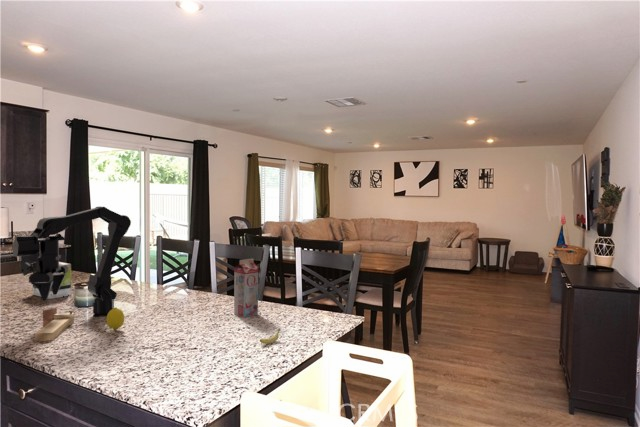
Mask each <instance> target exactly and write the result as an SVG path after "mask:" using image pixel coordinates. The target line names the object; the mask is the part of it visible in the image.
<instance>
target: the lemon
mask: <svg viewBox="0 0 640 427" xmlns="http://www.w3.org/2000/svg"><path fill="white" fill-rule="evenodd" d="M124 322H125V314H124V311H122V310H121V309H120V308H117V307H114V309H112V310H110V311H109V313H108V315H107V316H106V324H107V327H108V328H109V329H112V330H113V331H117V330H119V329H120V328H122V326H123V325H124Z"/></svg>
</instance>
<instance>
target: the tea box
mask: <svg viewBox="0 0 640 427" xmlns="http://www.w3.org/2000/svg"><path fill="white" fill-rule="evenodd" d="M59 265H66V266H67V267H68V272H67V273H64V272H62V274H67V275H66V276H65V278H64V280H63V282H62V284H61V286H60V288H59V290H58V293H57V294H55V295H54V294H53V291H52V287H51V290H50V293H49V296H48V298H47V300H52V299H58V298H63V296H64V297H68V295H69V296H72V264H71V263H67V262H62V261H59ZM33 273H36V271H35V272H32V274H33ZM32 295H33V296H38V297H40V298H42V297H41V295H40V292H39V290H38V288H37V286H35V285H34V284H32Z"/></svg>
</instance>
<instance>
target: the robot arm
mask: <svg viewBox="0 0 640 427" xmlns="http://www.w3.org/2000/svg"><path fill="white" fill-rule="evenodd" d="M96 219H101V220H102V221H103V222H106V223H107V232H108V233H107V234H108V237H107V240H106V243H105V246H104V250H103V252H102V256H101V258H100V263H99V265H98V267H97V268H98V269H97V271H96V272H95V274H90V275H89V278H88V281H87V283H86V286H87V290H88V293H90V294H91V295H92V297H93V298H94V302H93V303H92V314H93V316H92V317H100V316H101V317H105V316H106V317H107V315H108V313H109V311H110V310H112V309H114V308H115V300H116V299H117V296H118V293H117V292H116V291H114V289H112V288H111V287H112V275H111V274H112V270H113V267H114V264H115V262H116V257H117V254H118V252H119V248H120V245H121V241H122V239H123V237H124V236H125V235H126V234H127V233H128V230H129V229H130V227H131V225H132V224H131V223H132V220H131V219H130V217H129V216H128V215H124V214H119V213H118V212H115V211H112V210H111V209H109V208H107V207H105V206H95V207H94V208H90V209H87V210H86V209H85V210H82V211H78V212H76V213H71V214H68V215H67V214H66V215H62V216H61V215H60V216H50V217H49V216H48V217H43V218H41V219H39V220H38V222H37V225H36V227H35V228H34V230H33V231H32V233H30V235H25V236H24V235H23V236H21V235H16V236H14V241H13V243H12V247H11V248H12V254H13V256H14V257H16V258H18V257H26V256H35V255H36V254H38V253H39V256H38V257H37V258H36V261H34V262H32V263H29V262H24V263H21V264H20V267H19V271H18V272H19V273H22V275H23V276H24V277H25V276H28V275H29V276H28V284H29V283H30V284H32V285H33V284H34V285H35V286H37V288H38V290H39V292H40V295H41V297H40V298H41V299H42V302H46V301H48V296H49V293H50V290H51V287H52V291H53V294H54V295H55V294H57V293H58V290H59V288H60V286H61V284H62V282H63V280H64V278H65V276H66V275H67V274H62V272H64V273H67V272H68V267H67V266H66V265H59V262H60V259H61V258H62V255H61V254H60V252H59V251H60V246H59V244H60V241H65V240H66V237H64V236H63V235H62V234H61V232H64V231H65V230H67V229H68V228H70V227H73V226H77V225H78V224H84V223H86V222H90V221H93V220H96ZM35 271H36V273H33V272H35Z"/></svg>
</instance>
